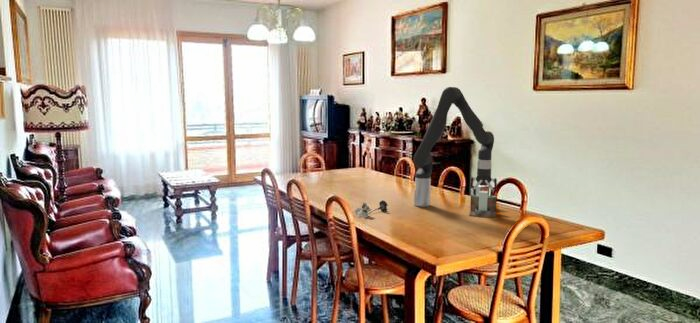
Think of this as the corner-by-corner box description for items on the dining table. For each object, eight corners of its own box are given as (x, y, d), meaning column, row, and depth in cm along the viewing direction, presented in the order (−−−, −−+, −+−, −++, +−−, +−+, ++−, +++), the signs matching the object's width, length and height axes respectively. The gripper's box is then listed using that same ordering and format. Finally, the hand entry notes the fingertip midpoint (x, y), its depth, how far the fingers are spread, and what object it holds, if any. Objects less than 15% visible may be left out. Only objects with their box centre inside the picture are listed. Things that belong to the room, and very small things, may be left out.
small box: (479, 208, 282) (480, 186, 280) (471, 206, 287) (472, 185, 285) (488, 206, 286) (489, 185, 284) (480, 204, 291) (481, 184, 290)
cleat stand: (469, 215, 264) (469, 198, 263) (470, 211, 274) (470, 194, 273) (495, 217, 260) (496, 200, 258) (495, 213, 270) (496, 196, 269)
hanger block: (478, 214, 265) (479, 192, 263) (478, 211, 270) (479, 190, 269) (486, 214, 263) (487, 193, 262) (487, 212, 269) (487, 191, 267)
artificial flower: (390, 214, 274) (392, 199, 270) (361, 225, 261) (362, 209, 256) (380, 207, 280) (382, 193, 276) (350, 218, 267) (352, 202, 263)
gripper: (470, 167, 262) (469, 196, 264) (497, 169, 258) (496, 198, 260) (471, 165, 269) (470, 194, 271) (497, 167, 265) (496, 195, 267)
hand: (483, 196), depth 266 cm, fingers open, 8 cm apart
